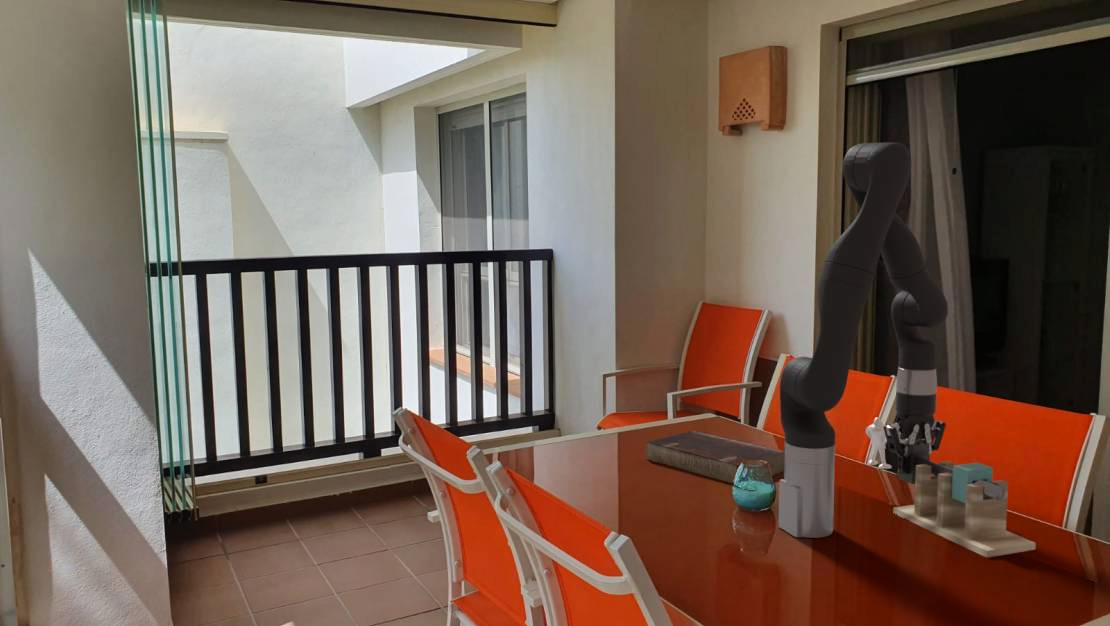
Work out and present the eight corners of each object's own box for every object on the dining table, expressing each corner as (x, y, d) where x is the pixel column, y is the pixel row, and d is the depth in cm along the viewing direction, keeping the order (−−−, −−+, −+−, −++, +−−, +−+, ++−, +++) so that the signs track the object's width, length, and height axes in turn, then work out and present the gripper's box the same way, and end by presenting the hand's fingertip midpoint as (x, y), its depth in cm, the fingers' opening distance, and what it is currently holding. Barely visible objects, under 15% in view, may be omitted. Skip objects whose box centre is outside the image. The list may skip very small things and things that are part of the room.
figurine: (895, 469, 202) (896, 419, 201) (881, 471, 201) (883, 421, 199) (872, 461, 209) (874, 413, 207) (859, 463, 207) (861, 415, 206)
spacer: (951, 497, 161) (953, 465, 160) (976, 494, 162) (977, 462, 162) (966, 503, 157) (967, 470, 156) (991, 500, 159) (992, 467, 158)
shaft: (898, 478, 176) (899, 440, 175) (913, 476, 177) (915, 438, 176) (990, 516, 153) (992, 473, 152) (1007, 513, 154) (1009, 471, 153)
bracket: (893, 513, 173) (895, 460, 171) (937, 507, 176) (939, 455, 175) (986, 557, 150) (989, 497, 149) (1035, 549, 153) (1038, 490, 152)
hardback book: (789, 471, 204) (790, 450, 203) (742, 488, 191) (742, 466, 191) (694, 447, 225) (694, 428, 225) (646, 461, 213) (646, 441, 212)
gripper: (899, 396, 167) (897, 481, 169) (958, 390, 171) (955, 473, 173) (874, 388, 174) (872, 470, 176) (931, 383, 178) (928, 463, 180)
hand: (913, 471), depth 174 cm, fingers closed on shaft, 4 cm apart
